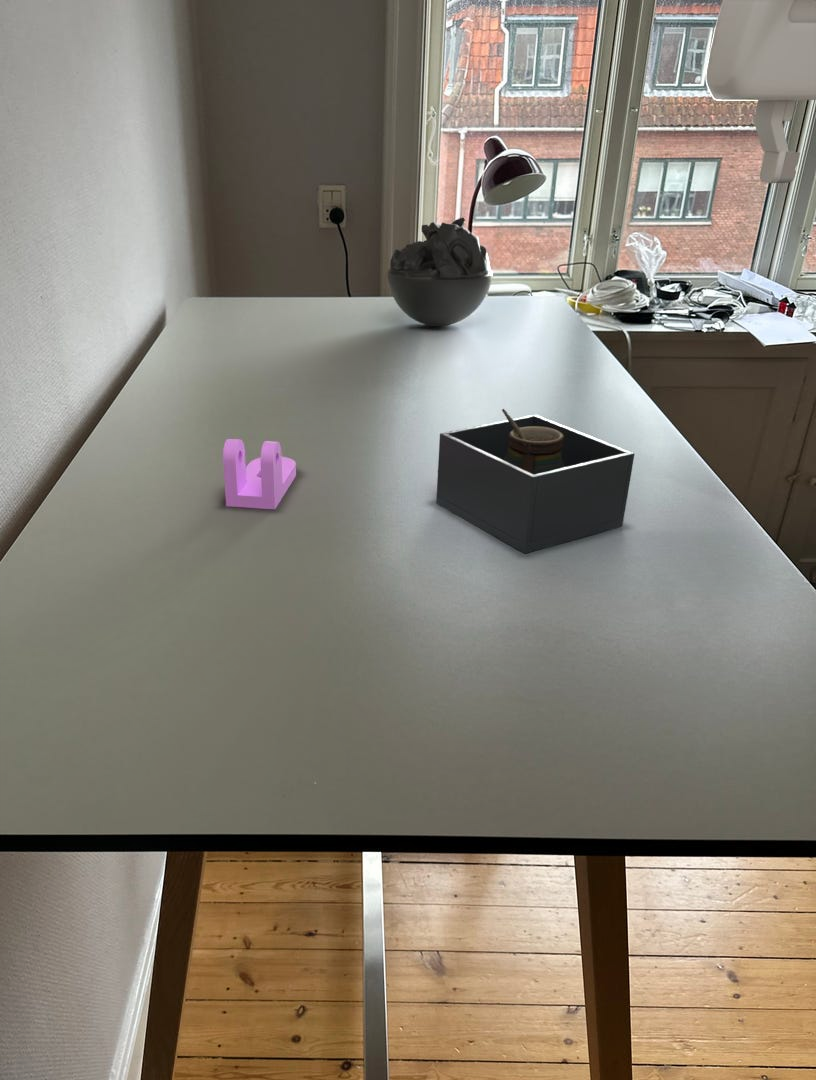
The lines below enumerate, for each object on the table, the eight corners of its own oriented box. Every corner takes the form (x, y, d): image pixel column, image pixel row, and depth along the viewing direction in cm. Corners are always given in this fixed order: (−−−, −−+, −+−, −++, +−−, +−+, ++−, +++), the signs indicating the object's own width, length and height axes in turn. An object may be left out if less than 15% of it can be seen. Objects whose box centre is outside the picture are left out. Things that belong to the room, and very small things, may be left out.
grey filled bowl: (421, 341, 168) (425, 229, 159) (367, 320, 184) (369, 218, 174) (509, 329, 176) (519, 222, 167) (451, 310, 191) (457, 212, 182)
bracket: (275, 509, 101) (272, 448, 97) (226, 506, 102) (221, 445, 98) (300, 468, 112) (299, 412, 108) (256, 465, 113) (253, 409, 109)
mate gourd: (557, 523, 95) (569, 429, 90) (485, 513, 97) (492, 420, 92) (567, 498, 100) (579, 408, 95) (499, 489, 103) (507, 401, 98)
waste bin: (528, 481, 108) (535, 414, 104) (622, 526, 96) (634, 453, 92) (435, 503, 102) (439, 433, 98) (524, 554, 91) (532, 477, 87)
